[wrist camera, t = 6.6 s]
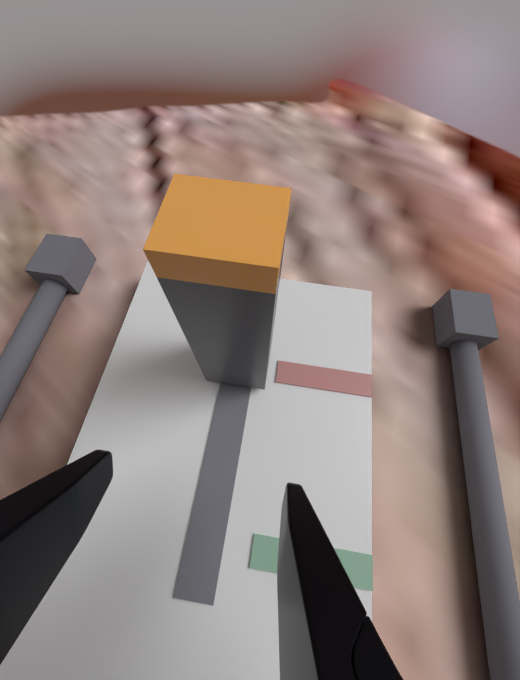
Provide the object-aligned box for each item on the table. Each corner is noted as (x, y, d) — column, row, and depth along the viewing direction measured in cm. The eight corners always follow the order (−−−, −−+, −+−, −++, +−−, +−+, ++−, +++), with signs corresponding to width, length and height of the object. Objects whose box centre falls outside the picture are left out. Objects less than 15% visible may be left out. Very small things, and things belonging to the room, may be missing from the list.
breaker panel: (353, 745, 12) (372, 797, 10) (12, 672, 12) (-32, 708, 10) (360, 308, 20) (371, 290, 18) (157, 279, 21) (147, 259, 19)
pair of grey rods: (550, 815, 11) (607, 881, 9) (-161, 660, 12) (-232, 691, 11) (468, 311, 20) (490, 294, 18) (64, 254, 22) (46, 233, 20)
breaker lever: (264, 389, 15) (278, 268, 6) (206, 380, 15) (143, 249, 7) (271, 345, 16) (291, 188, 7) (216, 336, 16) (174, 173, 8)
